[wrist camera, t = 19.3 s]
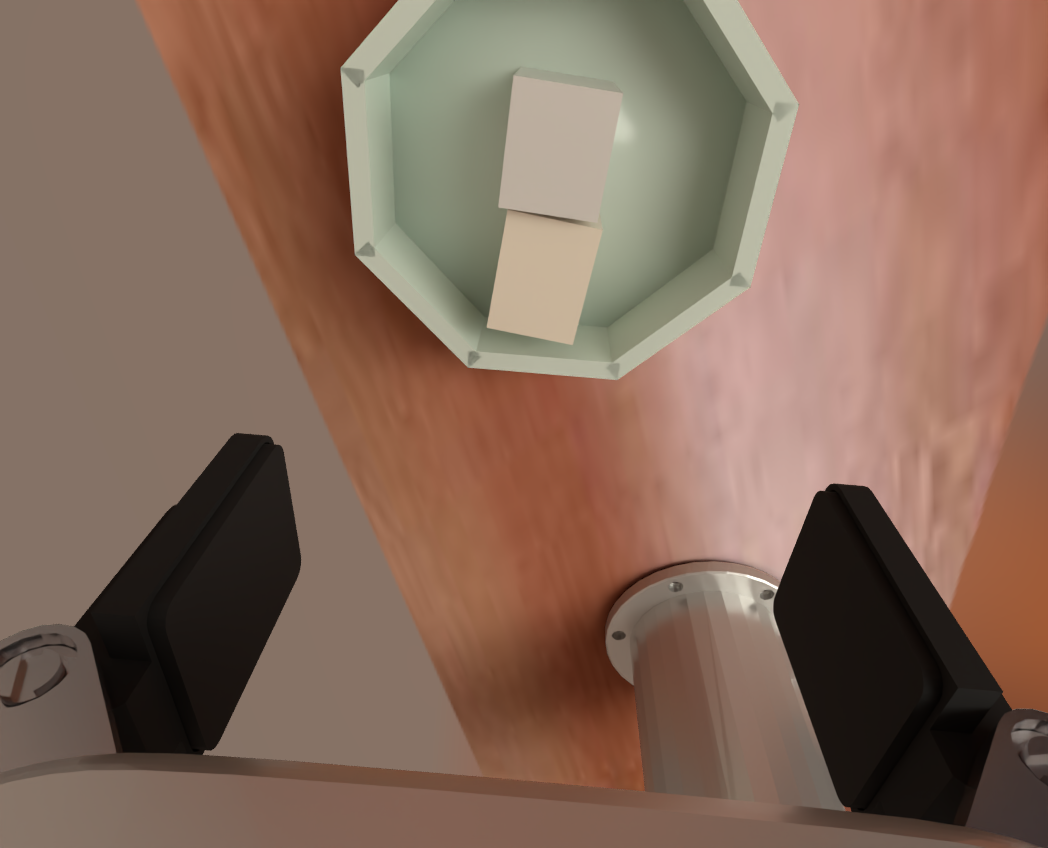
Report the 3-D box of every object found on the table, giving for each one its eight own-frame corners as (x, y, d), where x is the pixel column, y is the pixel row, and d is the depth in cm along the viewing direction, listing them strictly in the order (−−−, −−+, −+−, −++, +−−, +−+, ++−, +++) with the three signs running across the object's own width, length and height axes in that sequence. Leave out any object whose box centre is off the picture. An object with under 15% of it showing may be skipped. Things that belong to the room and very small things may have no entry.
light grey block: (613, 81, 25) (623, 93, 21) (592, 192, 27) (597, 222, 23) (521, 66, 25) (513, 75, 21) (508, 179, 27) (498, 207, 23)
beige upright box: (602, 230, 24) (572, 345, 26) (597, 202, 27) (571, 306, 30) (507, 209, 23) (486, 327, 26) (515, 184, 27) (495, 291, 30)
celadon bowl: (798, -51, 23) (844, -66, 19) (703, 344, 31) (723, 388, 28) (365, -85, 23) (326, -106, 19) (386, 318, 31) (362, 359, 28)
